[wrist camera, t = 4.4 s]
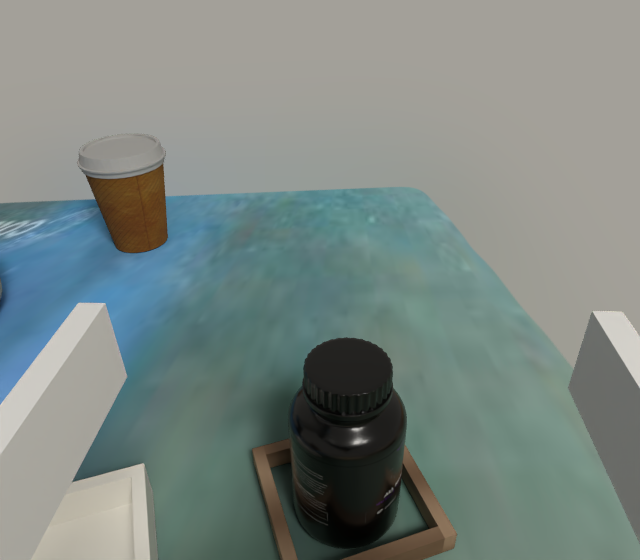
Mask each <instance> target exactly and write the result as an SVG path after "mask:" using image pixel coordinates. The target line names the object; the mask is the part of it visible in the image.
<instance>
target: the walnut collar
mask: <svg viewBox="0 0 640 560" xmlns="http://www.w3.org/2000/svg"><path fill="white" fill-rule="evenodd" d="M252 453H253V460H254V465H255V469H256V472H257V476H258V480H259V483H260V487H261V490H262V494H263V498H264V501H265V505H266V509H267V512H268V516H269V520H270V523H271V527H272V530H273V534H274V538H275V541H276V545H277V549H278V552H279V556H280V559H281V560H298V559H297V555H296V552H295V549H294V546H293V542H292V539H291V536H290V532H289V529H288V526H287V522H286V519H285V516H284V513H283V509H282V506H281V503H280V499H279V496H278V493H277V489H276V486H275V483H274V480H273V476H272V473H271V470H270V468H272V467H275V466H279V465H282V464H286V463H289V462H291V457H290V442H289V439H286V440H282V441H278V442H275V443H271V444H268V445H264V446H260V447H257V448H253V449H252ZM401 477H402V479H403V481H404V483H405V485H406V486H407V488H408V490H409V492H410V494H411V496H412V498H413V499H414V501H415V503H416V505H417V507H418V509H419V510H420V512H421V514H422V516H423V518H424V520H425V522H426V523H427V525H428V527H429V529H428V530H425V531H422V532H420V533H417V534H414V535H411V536H408V537H405V538H402V539H399V540H396V541H393V542H391V543H388V544H385V545H382V546H379V547H376V548H373V549H370V550H367V551H364V552H361V553H359V554H356V555H353V556H350V557H347V558H344V559H341V560H423V559H425V558H428V557H431V556H434V555H437V554H439V553H442V552H445V551H448V550H451V549H453V548H454V546H455V541H456V536H457V533H456V531H455V530H454V528H453V526H452V524H451V523H450V521H449V519H448V518H447V516H446V514H445V512H444V511H443V509H442V507H441V506H440V504H439V502H438V500H437V499H436V497H435V495H434V494H433V492H432V490H431V488H430V487H429V485H428V483H427V482H426V480H425V478H424V476H423V475H422V473H421V471H420V470H419V468H418V466H417V464H416V463H415V461H414V459H413V458H412V456H411V454H410V452H409V451H408V449H407V447H406V446H405V447H404V457H403V466H402V476H401Z"/></svg>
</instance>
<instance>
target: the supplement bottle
mask: <svg viewBox="0 0 640 560" xmlns="http://www.w3.org/2000/svg"><path fill="white" fill-rule="evenodd" d="M392 369H393V366H392V363H391V360H390V358H389V357H388V356H387V353H385V352H384V351H383V349H382V348H379V347H378V346H377V345H375V344H372V343H371V342H369V341H365V340H363V339H356V338H347V337H346V338H337V339H332V340H329V341H326V342H323V343H322V344H320V345H317V346H316V348H314V349H312V351H311V352H310V353H309V354H308V356H307V358H306V359H305V364H304V368H303V370H304V378H303V383H302V387H301V388H300V389H299V390H298V391H297V393H296V394H295V396H294V398H293V399H292V402H291V404H290V408H289V413H288V427H289V442H290V457H291V472H292V487H293V499H294V507H295V511H296V514H297V517H298V519H299V521H300V523H301V524H302V526H303V527H304V529H305V530H306V531H307V532H308V533H309V534H310V535H311V536H312V537H314V538H315V539H316V540H318V541H320V542H322V543H324V544H326V545H329V546H332V547H336V548H342V549H352V548H359V547H363V546H366V545H369V544H371V543H373V542H375V541H376V540H378V539H379V538H381V537H382V536H383V535H384V534H385V533H386V532H387V531H388V530H389V528H390V527H391V525H392V524H393V522H394V520H395V517H396V514H397V510H398V503H399V496H400V486H401V476H402V466H403V457H404V447H405V437H406V427H407V416H406V410H405V406H404V404H403V402H402V400H401V398H400V396H399V395H398V393H397V392H396V391H395V389H394V388H393V382H392V377H393V371H392Z"/></svg>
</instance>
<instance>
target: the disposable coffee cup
mask: <svg viewBox="0 0 640 560" xmlns="http://www.w3.org/2000/svg"><path fill="white" fill-rule="evenodd" d="M165 155H166V151H165V150H164V148H163V147H161V145H160V142H159V140H158V139H157V138H156V137H154V136H151V135H145V134H119V135H112V136H107V137H103V138H99V139H96V140H93V141H91V142H88V143H86V144H84V145H83V146H82V147H81V148H80V149H79V159H78V161H77V164H78V167H79V168H80V169H81V170H82V172H83V173H84V174H85V175H86V177H87V179H88V182H89V184H90V187H91V189H92V192H93V194H94V196H95V199H96V201H97V203H98V206H99V208H100V211H101V213H102V215H103V218H104V220H105V222H106V225H107V227H108V230H109V232H110V234H111V237H112V239H113V241H114V244H115V246H116V248H117V249H119V250H120V251H123V252H129V253H138V252H145V251H149V250H152V249H155V248H157V247H159V246H161V245H162V244H164V243H165V242H166V240H167V238H168V234H167V218H166V201H165V185H164V171H163V162H164V157H165Z"/></svg>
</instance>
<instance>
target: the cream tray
mask: <svg viewBox="0 0 640 560" xmlns="http://www.w3.org/2000/svg"><path fill="white" fill-rule="evenodd" d="M31 560H158V550H157V538H156V525H155V512H154V499H153V491H152V487H151V484H150V481H149V478H148V475H147V471H146V468H145V465H144V463H143V464H139V465H135V466H131V467H128V468H124V469H120V470H117V471H113V472H109V473H105V474H102V475H98V476H94V477H90V478H87V479H83V480H79V481H76V482H72V483H71V484H70V486H69V488H68V490H67V492H66V494H65V496H64V498H63V500H62V501H61V503H60V505H59V507H58V509H57V511H56V513H55V515H54V517H53V519H52V520H51V522H50V524H49V526H48V528H47V530H46V532H45V534H44V536H43V538H42V539H41V541H40V543H39V545H38V547H37V549H36V551H35V553H34V555H33V556H32V558H31Z"/></svg>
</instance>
